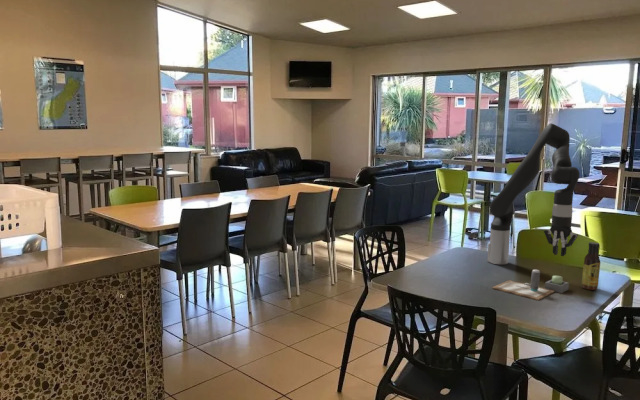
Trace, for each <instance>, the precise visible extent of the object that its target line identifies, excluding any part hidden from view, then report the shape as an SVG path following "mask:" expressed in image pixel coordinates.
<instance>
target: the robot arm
mask: <svg viewBox="0 0 640 400" xmlns="http://www.w3.org/2000/svg"><path fill="white" fill-rule="evenodd" d="M570 140H571V139H570V134H569V131H567V130H566V129H565V128H562V127H560V126H558V125H556V124H554V123H548V124H547V125H546V126H545V127H544V128H543V129H542V131H541V132H540V134H539V136H538V137H537V139H536V141H535V142H534V144H533V146H532V147H531V149H530V150H529V151H528V153H527V155H526V156H525V157H524V158H523V159H522V161H521V162H520V163H519V165H517V168H516V169H515V170H514V172H513V174H512V175H511V176H510V178H509V179H508V181H507V182H506V184H505V186H504V187H503V188H502V189H501V191H500V192H499V193H498V194H497V195H496V196H495V197H494V199H492V200H491V202H490V204H489V212H490V214H491V215H492V216H493V219H492V222H491V223H490V234H489V235H490V237H489V242H488V245H487V258H486V259H487V261H486V262H488V263H491V264H492V265H501V266H502V265H508V264H509V258H510V257H509V255H510V240H511V239H510V238H511V226H512V223H513V214H514V203H513V202H514V201H515V199H516V198H517V197H518V196H519V195H520V194H521V193H522V192H523V191H524V190H525V189H526V188H528V187H529V186H530V185H531V184H532V182H533V181H534V179H536V177H537V176H538V174H539V172H540V168H541V167H540V166H541V153H542V151H543V149H544V147H545V145H547V146H549V147H551V148H555V149H556V150H554V152H553V153H552V156H551V160H552V165H553V167H552V170H551V172H550V173H551V174H550V179H551V181H552V183H554V184H557V185H558V184H559V185H567V186H566V187H564V188H561V189H560V188H559V189H555V191H554V196H553V206H552V211H551V226H550V228H549V229H545V230H544V231H543V232H544V233H543V234H544V235H545V238H546V241H547V243H548V244H549V245H552V253H553V255H554V256H555V255H556V256H557V255H558V253H559V240H560V242H561V249H560V256H561V257H564V256H566V254H567V248H569V247H571V246H572V245H573V244H574V243H575V241H576V239H577V238H579V237H578V236H579V234H577V233H574V232H573V229H572V224H573V223H572V221H573V200H574V192H575V189H576V186H577V184H578V181H579V179H580V176H581V175H580V174H581V173H580V171H579V169H578V168H577V167H574V166H572V159H571V155H570ZM552 235H553V236H552ZM568 237H570V239H569V241H568Z"/></svg>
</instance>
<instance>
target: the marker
mask: <svg viewBox="0 0 640 400" xmlns="http://www.w3.org/2000/svg"><path fill="white" fill-rule="evenodd" d="M530 276H531V277H530V284H531V285H530V288H531V290H532V291H537V290H538V288H539V287H540V280H541V279H540V278H541V277H540V276H541V271H540V270H539V269H532V271H531V275H530Z"/></svg>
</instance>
